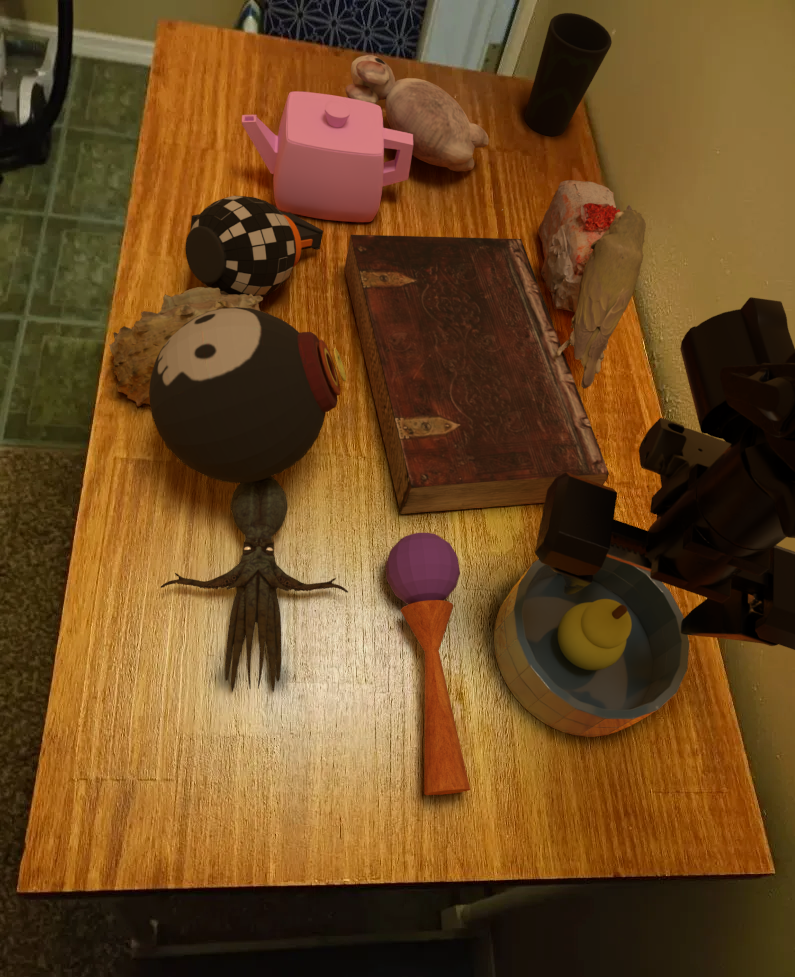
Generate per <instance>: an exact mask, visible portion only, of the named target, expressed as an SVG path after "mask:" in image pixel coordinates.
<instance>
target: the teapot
mask: <svg viewBox="0 0 795 977" xmlns="http://www.w3.org/2000/svg"><path fill="white" fill-rule="evenodd" d="M241 125H242V127H243V128H244V130H245V132H246V133H247V135H248V137H249V139H250V140H251V142H252V143H253V146H254V147H255V149H256V151H257V152H258V154H259V156H260V157H261V159H262V162H264V164H265V166H266V167H267V169H268V171H269V173H270V175H271V174H272V175H273V197H274V202H275V207H276V208H277V209H278V210H279V211H281V212H286V213H289V212H290V213H292V214H294V215H296V216H303V217H308V218H314V219H317V220H318V219H319V220H327V221H335V222H337V221H338V222H349V223H350V222H351V223H370V222H373V220H374V219H375V218H376V215H377V214H378V211H379V209H380V205H381V201H382V200H381V199H382V194H383V188H384V187H386V186H390V185H393V184H396V183H400V182H404V181H408V180H409V176H410V171H411V163H412V156H413V155H412V151H413V134H410V133H405V132H401V131H396V130H392V129H391V128H386V127H384V118H383V111H382V107H381V106H380V105H378V104H376V103H375V104H373V103H369V102H365V101H361V100H356V99H351V98H348V97H345V96H339V95H334V94H333V95H332V94H328V93H327V94H326V93H318V92H312V91H311V92H310V91H298V90H297V91H290V92H289V93H288V95H287V98H286V100H285V105H284V108H283V111H282V115H281V117H280V121H279V125H278V126H279V127H278V131H277V135H276V134H275V133H274V132H273V131H272V130H271V129H270V128H269V127H268V126H267V125H266V124H265V123H264V122H263V121H262V120H260V119H259V117H258V115H257V114H242V115H241ZM385 149H390V150H396V153H395V158H394V159H392V160H391V159H390V160H387V161H385Z"/></svg>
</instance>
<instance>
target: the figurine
mask: <svg viewBox="0 0 795 977" xmlns="http://www.w3.org/2000/svg"><path fill="white" fill-rule="evenodd" d="M288 508H289V506H288V498H287V494H286V492H285V489H284V488H283V487H282V485H281V483H280V482H279V481H278V480H277V479H276V478H275V477H273V476H271V477H268V478H266V479H263V480H259V481H254V482H249V483H238V485H237V486H236V488H235V489H234V491H233V493H232V496H231V500H230V512H231V515H232V518H233V522H234V525H235V526H236V527H237V529H238V530H239V531H240V533H241V534H243V536H244V541H243V543H242V555H241V556H240V560H239V562H238V564H236V565H235V566H234V567H233V568H231V569H230V570H229V571H227V572H225V573H224V574H221V575H219V576H217V577H215V578H214V577H213V578H212V579H209V580H199V579H193V578H188V577H183V576H181V575H180V574H178V573H177V572H174V575H175V576H176V577H177V578H178V579H172V580H169V581H167V582H165V583H163V584H161V585H160V588H165V587H166V586H169V585H176V584H177V585H185V586H191V587H198V588H199V589H207V590H209V589H212V590H218V589H220V588H221V589H226V590H232V589H235V588H236V590H235V595H234V598H233V601H232V605H231V611H230V615H229V619H228V629H227V637H226V638H227V639H226V647H225V648H226V649H225V663H224V664H225V665H224V666H225V667H224V668H225V669H224V672H225V675H224V676H225V677H224V678H225V681H228V680H229V677H230V690H231V693H233V692H234V689H235V684H236V680H237V675H238V668H239V663H240V659H241V655H242V651H243V647H244V644H245V650H246V666H247V668H246V669H247V679H248V686H249V690H251V686H252V684H251V683H252V682H251V671H252V670H251V666H252V664H251V663H252V650H253V643H254V634H255V629H256V627H257V638H258V654H259V656H258V657H259V658H258V661H259V663H258V664H259V665H258V680H257V690H259V689H260V684H261V678H262V672H263V667H264V658H265V650H266V653H267V659H268V666H269V675H270V676H269V677H270V685H271V691H272V693H274V692H275V687H276V681H277V682H279V681H280V679H281V671H282V618H281V609H280V602H279V597H278V589H280V590H283V591H286V592H289V591H293V590H294V592H300V591H301V592H312V591H315V590H322V589H323V590H325V589H333V588H334V589H339V590H341V591H343V592H345V593H346V594H347V593H349V590H347V589H346V588H345V587H343V586H342V585H339V584H337V583H333V582H335V581H336V579H337V577H334V578H332V579H330V580H328V581H324V582H315V583H305V582H302V581H300V580H299V579H296V578H294V577H292V576H291V575H289V574H288V573H286V572H285V571H284V570H283V569H282V568H281V567H280V566H279V565H278V564H277V562H276V556H275V543H274V541H273V536H275V535H276V534H277V533H278V532H279V531H280V530H281V528H282V527H283V525H284V523H285V520H286V518H287V514H288ZM230 670H231V672H230Z"/></svg>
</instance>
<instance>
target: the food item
mask: <svg viewBox="0 0 795 977" xmlns="http://www.w3.org/2000/svg"><path fill="white" fill-rule="evenodd" d="M614 195H615V192H613V191H612V190H610V188H608V187H606V186H605V185H601V184H599V183H596V182H594V181H582V180H577V179H576V180H575V179H568V180H564V181H561V182H559V185H558V187H557V190H556V191H555V192H554V195H553V197H552V198H551V202H550V203H549V206H548V208H547V210H546V211H545V213H544V216H543V219H542V221H541V223H540V224H539V227H538V229H537V231H538V235H539V238H540V241H541V243H542V252H543V257H544V260H543V263H542V266H541V270H540V275H541V276H542V278H543V281H544V282H545V287H546V288H547V289H548V291H549V292H550V295H551V302H552V305H553V310H554V311H555V310H563V311H567V312H568V311H569V312H571V313H574V314H575V313H576V310H577V301H578V296H579V289H580V282H581V278H582V275H583V272H584V268H585V265H586V263H587V262H588V259H589V257H590V254H591V253H592V251H593V249H592V248H590V247H591V244H592V243H593V242H595V241H597V240H598V239H600V238H601V237H602V236H603V234H604V233H605V232H606V231H607V230H608V229H609V226H610V225H611V223H612V222H613V221H614V218H615V214H616V213H617V212H622V211H621V210H620V208H617V205H616V201H615V198H614Z"/></svg>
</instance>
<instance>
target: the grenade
mask: <svg viewBox="0 0 795 977" xmlns="http://www.w3.org/2000/svg"><path fill="white" fill-rule="evenodd" d="M323 235H324V230H323V229H321V228H319V227H318V226H316V225H314V224H313V223H310V222H309V221H307V220H305V219H304V218H301V217H299V216H298V215H297V214H293V213H290V212H289V213H288V212H285V211H281V210H279V209H278V208H277V206H276V205H274V204H272V203H269V202H268V201H267V200H265V199H260V198H258V197H254V196H246V195H244V196H243V195H230V196H227V197H224V198H221V199H218V200H215V201H214V202H212V203H210V204H209V205H208V206H206V207H205V208H204V209H203V210H202V211H201V212H200V214H193V215H191V221H190V229H189V232H188V233H187V235H186V236H187V237H186V240H185V251H184V252H185V257H186V263H187V264H188V267H189V269H190V271H191V273H192V274H193V276H194V277H195V278H196V279H197V280H198V281H200V282H201V283H202V284H203V285H205V287H206V288H209V287H211V288H219V289H220V293H221V294H223V295H235V294H237V295H241V294H246V295H250V294H252V295H253V296H258V295H260V296H261V297H263V298H264V297H265V296H268V295H270V294H272V293H273V292H275V291H276V290H279V289H280V287H282V286H283V285H284V284H285V283H286V281H287V280H288V279H289V278H290V276H291V274H292V271H293V269H294V268H295V267H296V265H297V264H298V262H299V260H300V258H301V255H302V251H303V250H309V249H313V250H316V251H317V250H321V245H322V240H323Z"/></svg>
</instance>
